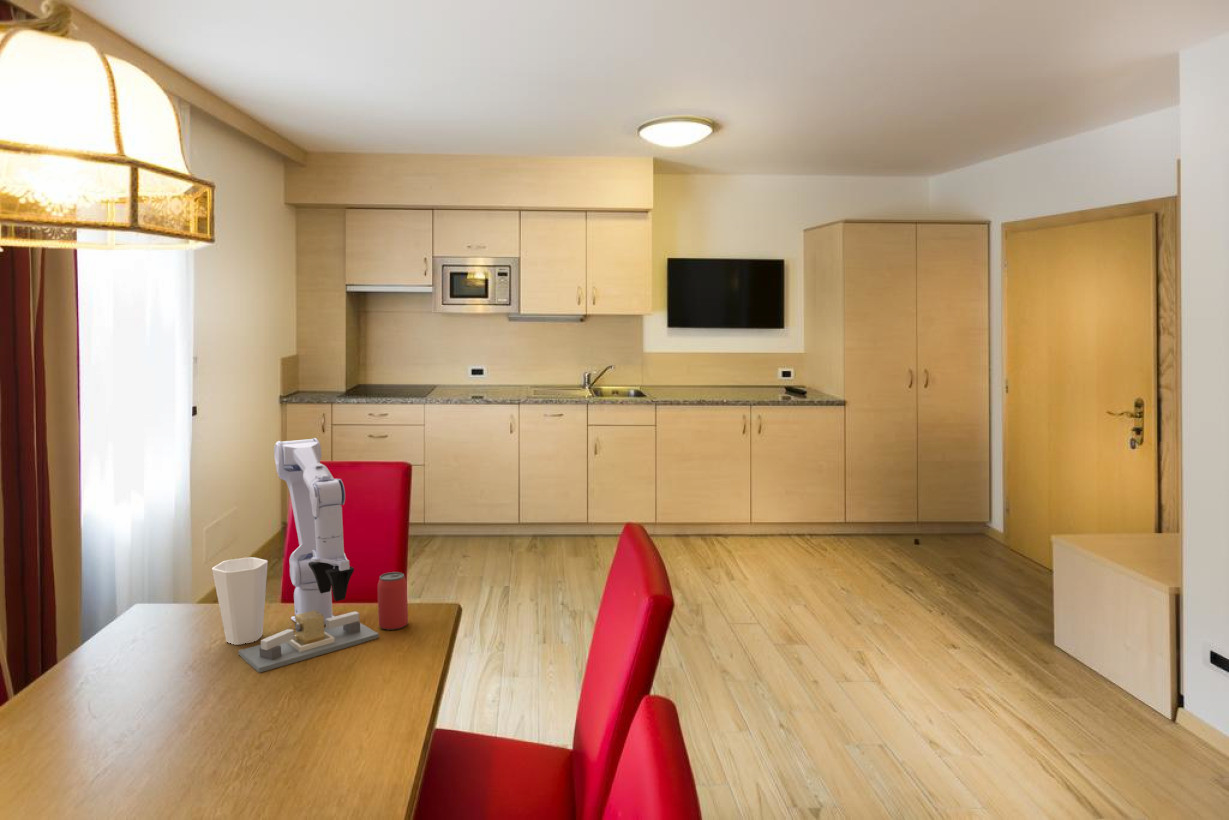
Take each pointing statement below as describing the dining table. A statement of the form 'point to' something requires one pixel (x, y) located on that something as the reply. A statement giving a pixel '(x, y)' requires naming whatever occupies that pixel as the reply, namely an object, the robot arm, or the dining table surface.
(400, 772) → the dining table surface
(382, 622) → the beer can
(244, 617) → the cup
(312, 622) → the block
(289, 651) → the shaft board
